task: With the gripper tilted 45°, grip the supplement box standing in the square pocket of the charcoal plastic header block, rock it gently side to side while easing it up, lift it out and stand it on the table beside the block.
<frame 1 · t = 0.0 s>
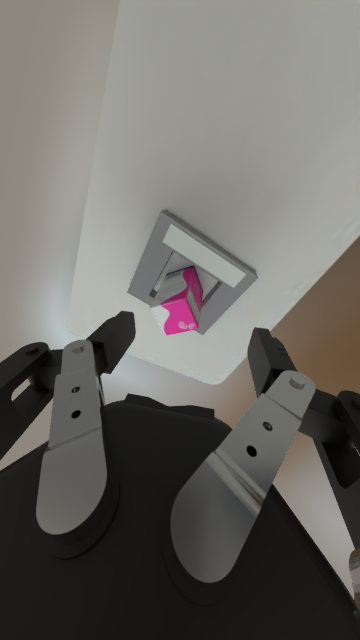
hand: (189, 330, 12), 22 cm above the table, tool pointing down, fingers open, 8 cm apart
plug header: (185, 283, 35), on the table
supplement box: (185, 283, 35), resting in plug header
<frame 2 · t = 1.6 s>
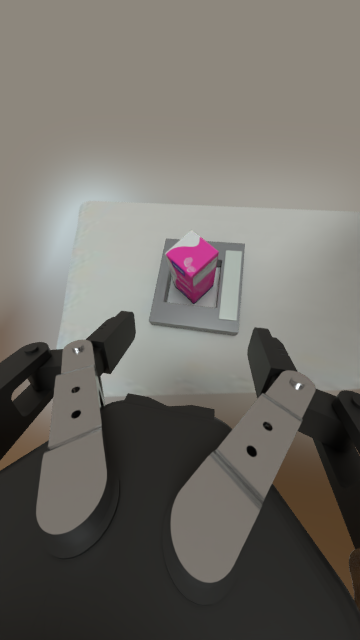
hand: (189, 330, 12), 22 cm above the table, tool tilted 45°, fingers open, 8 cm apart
plug header: (193, 286, 36), on the table
supplement box: (193, 286, 37), resting in plug header
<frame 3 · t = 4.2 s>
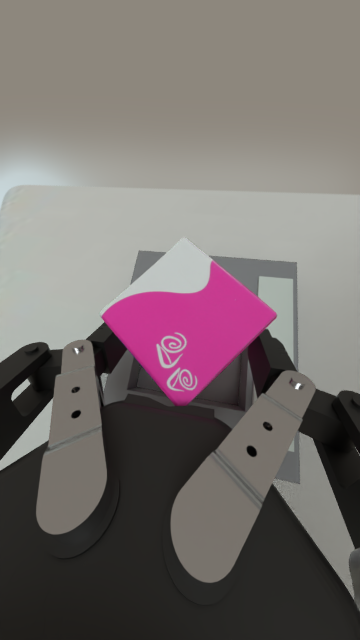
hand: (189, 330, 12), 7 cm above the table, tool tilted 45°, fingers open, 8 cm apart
plug header: (192, 344, 18), on the table
supplement box: (192, 345, 19), resting in plug header, touching gripper
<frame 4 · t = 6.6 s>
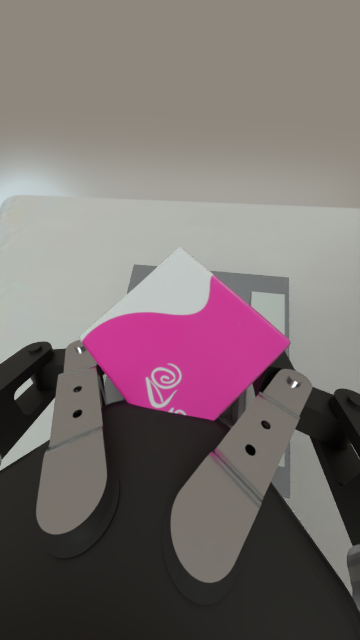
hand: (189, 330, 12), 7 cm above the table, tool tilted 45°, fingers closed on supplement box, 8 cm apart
plug header: (186, 357, 19), on the table
supplement box: (191, 356, 17), point 1 cm above the table, touching gripper
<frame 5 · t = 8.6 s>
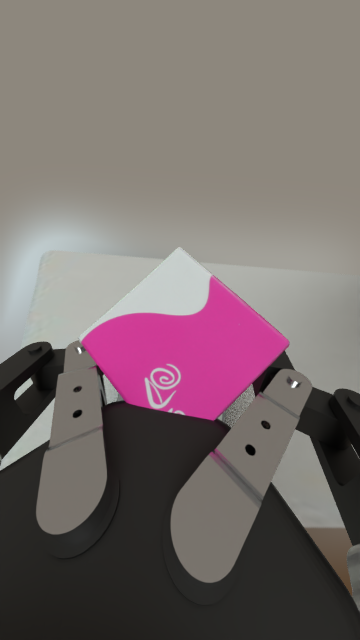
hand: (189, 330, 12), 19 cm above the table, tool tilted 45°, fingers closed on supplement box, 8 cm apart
supplement box: (190, 356, 17), point 13 cm above the table, touching gripper
when the fingers open (7 cm above the table, at t = 12.5 s): supplement box drops 1 cm, on the table.
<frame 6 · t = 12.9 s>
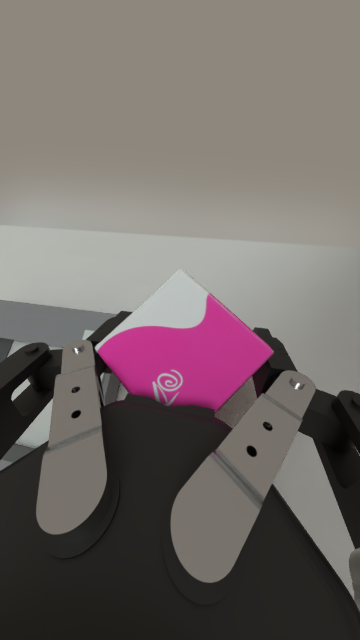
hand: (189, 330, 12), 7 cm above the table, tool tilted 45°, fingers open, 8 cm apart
plug header: (35, 391, 19), on the table
supplement box: (190, 359, 19), on the table
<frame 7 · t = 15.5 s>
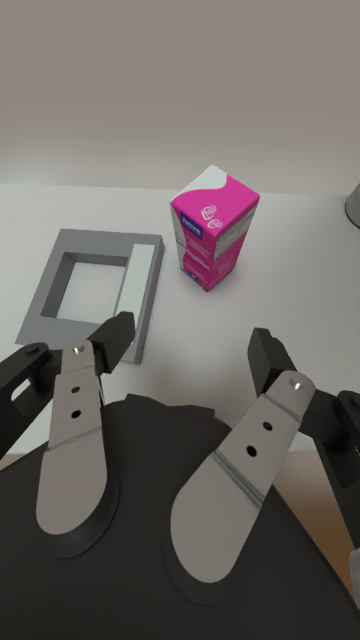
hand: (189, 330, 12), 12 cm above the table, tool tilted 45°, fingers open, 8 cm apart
plug header: (95, 293, 27), on the table
supplement box: (206, 269, 26), on the table
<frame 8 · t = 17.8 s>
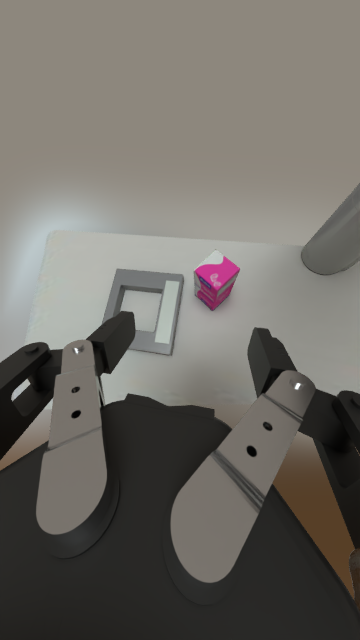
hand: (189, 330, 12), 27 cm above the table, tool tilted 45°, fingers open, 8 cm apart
plug header: (140, 311, 42), on the table
supplement box: (211, 295, 41), on the table
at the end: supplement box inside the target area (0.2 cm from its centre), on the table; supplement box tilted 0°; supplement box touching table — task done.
